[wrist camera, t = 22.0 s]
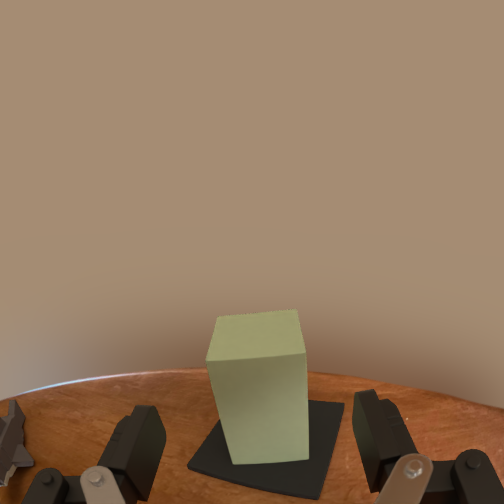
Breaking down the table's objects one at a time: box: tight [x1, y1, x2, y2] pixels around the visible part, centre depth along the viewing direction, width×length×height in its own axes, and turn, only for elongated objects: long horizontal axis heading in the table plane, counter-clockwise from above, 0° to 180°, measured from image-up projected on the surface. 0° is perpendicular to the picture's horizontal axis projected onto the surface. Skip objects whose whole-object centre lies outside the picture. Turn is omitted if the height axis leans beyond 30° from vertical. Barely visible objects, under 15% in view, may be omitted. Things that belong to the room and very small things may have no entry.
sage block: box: [205, 309, 309, 464], centre depth 19 cm, size 5×5×9 cm
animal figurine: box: [0, 400, 34, 486], centre depth 16 cm, size 12×4×5 cm, turn 27°
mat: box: [187, 400, 344, 500], centre depth 20 cm, size 9×9×1 cm
